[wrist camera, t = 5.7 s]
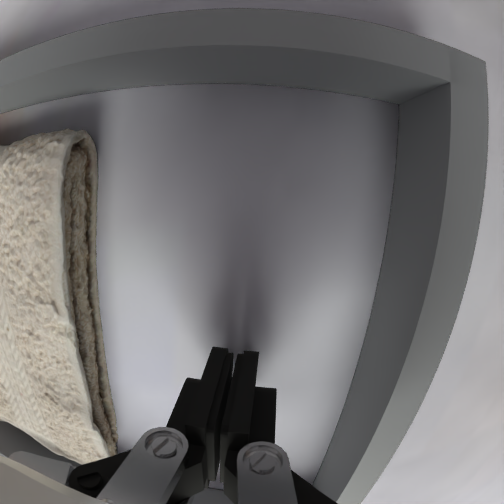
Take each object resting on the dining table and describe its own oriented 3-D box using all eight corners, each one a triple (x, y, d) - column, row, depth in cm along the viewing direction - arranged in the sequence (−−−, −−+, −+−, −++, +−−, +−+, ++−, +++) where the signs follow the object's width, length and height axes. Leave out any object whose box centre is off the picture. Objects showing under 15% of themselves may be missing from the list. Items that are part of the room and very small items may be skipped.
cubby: (-53, 117, 10) (-95, 119, 6) (430, 86, 8) (485, 61, 5) (6, 421, 16) (-15, 446, 12) (322, 502, 14) (325, 545, 11)
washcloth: (2, 397, 16) (-20, 419, 13) (-43, 147, 11) (-81, 151, 8) (134, 457, 15) (117, 493, 12) (110, 129, 10) (59, 123, 7)
